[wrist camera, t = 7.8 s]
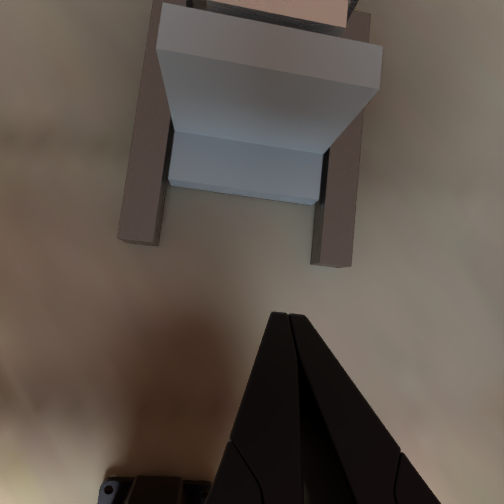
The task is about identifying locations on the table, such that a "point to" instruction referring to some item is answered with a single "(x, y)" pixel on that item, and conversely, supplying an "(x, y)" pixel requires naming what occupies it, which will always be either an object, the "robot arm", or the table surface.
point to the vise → (160, 144)
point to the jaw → (258, 101)
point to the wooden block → (289, 13)
